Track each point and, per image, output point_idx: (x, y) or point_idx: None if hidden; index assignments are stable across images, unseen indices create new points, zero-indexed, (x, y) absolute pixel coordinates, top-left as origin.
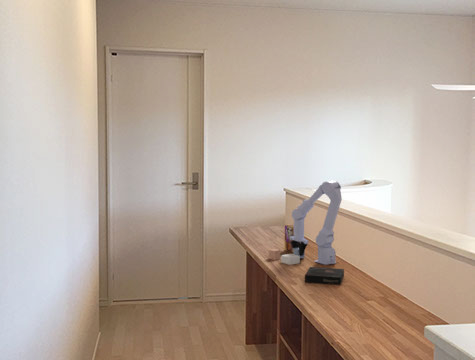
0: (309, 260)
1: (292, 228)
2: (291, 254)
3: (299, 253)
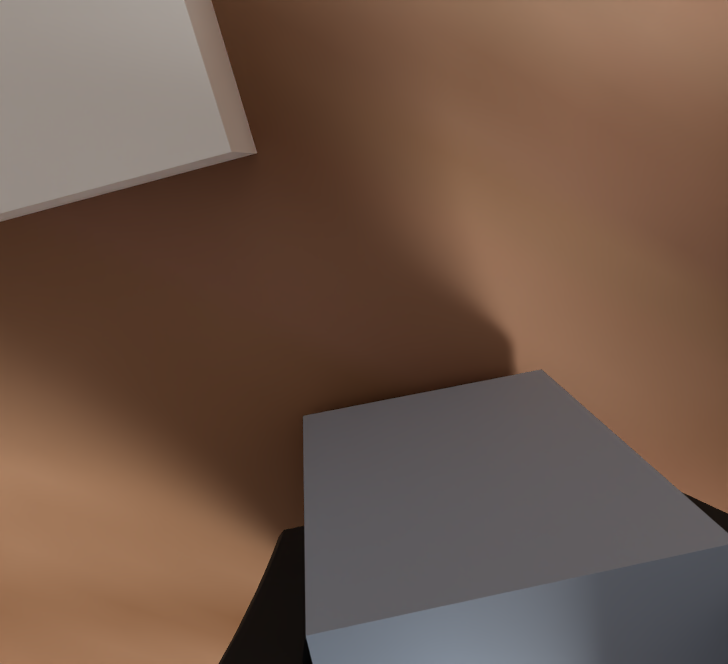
0: (99, 623)
1: None
2: (32, 79)
3: None
